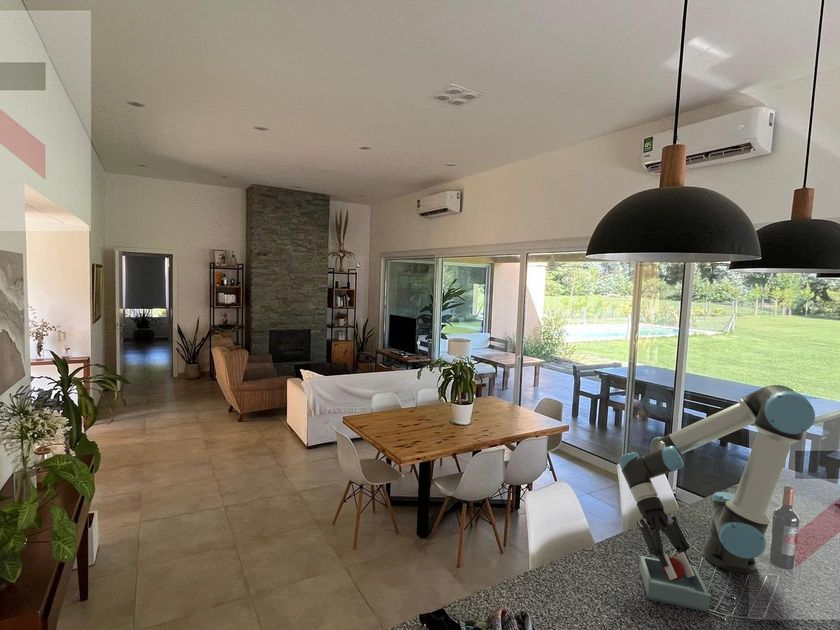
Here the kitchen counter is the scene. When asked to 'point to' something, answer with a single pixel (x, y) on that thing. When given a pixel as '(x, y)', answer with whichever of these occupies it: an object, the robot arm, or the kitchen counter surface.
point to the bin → (673, 586)
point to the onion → (675, 568)
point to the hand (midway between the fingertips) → (682, 577)
